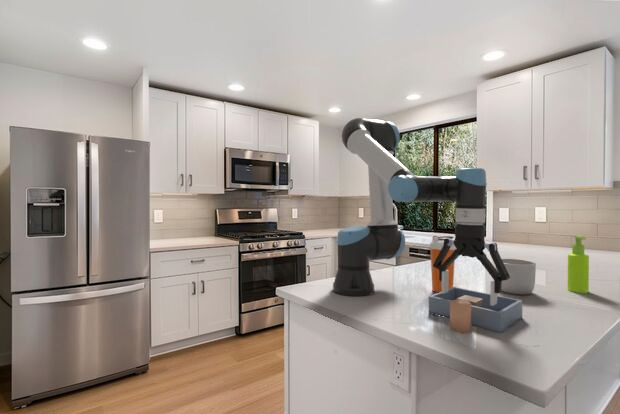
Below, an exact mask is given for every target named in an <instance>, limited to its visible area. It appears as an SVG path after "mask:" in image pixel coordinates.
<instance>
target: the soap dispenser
mask: <svg viewBox="0 0 620 414" xmlns="http://www.w3.org/2000/svg"><path fill="white" fill-rule="evenodd" d="M573 238H574V239H575V242H574V244H572V247H571V248H572V249H571V250H572V253H568V254H567V291H568V292H572V293H577V294H588V293H589V288H590V287H589V285H590V284H589V281H590V280H589V277H590V275H589V274H590V267H589V266H590V263H589V262H590V255H588V254H585V245H584V244H582V240H586V237H585V236H583V235H574V236H573Z"/></svg>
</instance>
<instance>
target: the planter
mask: <svg viewBox="0 0 620 414" xmlns="http://www.w3.org/2000/svg"><path fill="white" fill-rule="evenodd" d="M501 259H502V261H503V263H504V265H505V267H506V269H507V271H508V274H509V276H510V278H509V279H507V280H505V281H504V280H503V281H502V285H501V292H504V293H507V294H513V295H529V294H531V293H533V291H534V290H535V284H536V274H537V272H536V270H537V264H536V262H534V261H532V260H526V259H518V258H501ZM495 268H496V267H495ZM496 270H497V268H496ZM497 271H498V270H497Z"/></svg>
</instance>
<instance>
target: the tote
mask: <svg viewBox="0 0 620 414" xmlns="http://www.w3.org/2000/svg"><path fill="white" fill-rule="evenodd" d="M464 295H467V296H472V297H477V298H482V299H483V308H481V307H477V306H472V305H471V324H472V325H471V326H474V325H475V326H474V327H477V326H478V327H477V328H481V327H482V328H481V329H484V330H488V329H489V331H492V330H493V332H496V333H499V332H500V334H501V332H502V333H503V332H504V330H505V331H506V330H507V329H509V328H510V327H513V325H514V323H517V322H519V321H520V320H521V319H523V300H522V299H516V298H512V297H507V296H501V295H497V304H495V305H494V306H492V305H490V293H486V292H483V291H481V292H480V291H476V290H471V289H466V288H461V287H457V286H453V287H452V288H450V289H448V292H447V293H444V294H443V293H441V292H439V293H438V292H436V293H434V294H431V295H429V296H428V314H430V313H433V314H432V315H434V314H437V315H440V316H439V317H441V316H444V317H443V318H445V317H446V318H445V319H448V318H449V320H450V301H451V300H457V298H459V297H462V296H464ZM437 315H436V316H437ZM508 327H509V328H508Z"/></svg>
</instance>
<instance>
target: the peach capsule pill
mask: <svg viewBox="0 0 620 414" xmlns="http://www.w3.org/2000/svg"><path fill="white" fill-rule="evenodd" d="M449 330H450V331H452V330H453V331H452V332H454V331H455V333H457V332H459V334H469V332H470V333H471V332H472V325H471V303H470V302H468V301H465V300H451V301H450V319H449Z"/></svg>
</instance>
